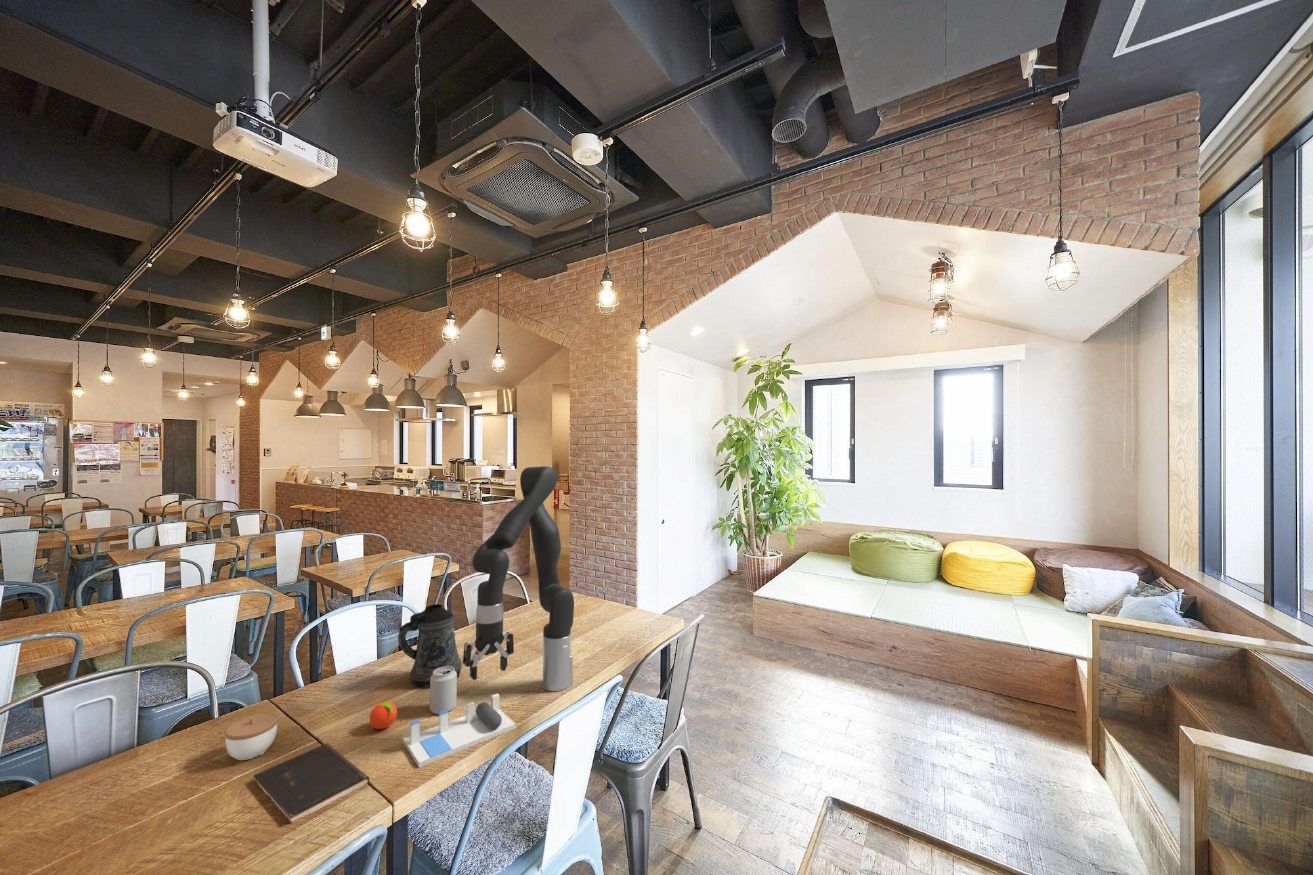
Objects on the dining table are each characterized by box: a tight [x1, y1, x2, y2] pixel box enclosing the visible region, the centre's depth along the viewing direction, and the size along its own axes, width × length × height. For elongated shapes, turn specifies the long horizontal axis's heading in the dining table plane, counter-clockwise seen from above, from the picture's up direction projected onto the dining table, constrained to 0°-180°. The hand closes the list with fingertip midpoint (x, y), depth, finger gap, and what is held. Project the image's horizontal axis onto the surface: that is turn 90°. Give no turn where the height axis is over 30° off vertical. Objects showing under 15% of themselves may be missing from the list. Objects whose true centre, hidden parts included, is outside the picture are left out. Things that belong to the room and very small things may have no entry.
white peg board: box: [402, 693, 517, 768], centre depth 135 cm, size 26×14×7 cm, turn 132°
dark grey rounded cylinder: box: [475, 701, 502, 729], centre depth 139 cm, size 12×4×4 cm, turn 42°
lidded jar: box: [224, 712, 279, 760], centre depth 127 cm, size 11×11×9 cm
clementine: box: [369, 700, 398, 730], centre depth 139 cm, size 8×7×7 cm
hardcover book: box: [253, 743, 370, 823], centre depth 116 cm, size 16×23×2 cm
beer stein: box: [397, 603, 463, 689], centre depth 169 cm, size 16×19×25 cm
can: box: [429, 666, 458, 715], centre depth 149 cm, size 8×8×12 cm
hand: (488, 674), depth 140 cm, fingers open, 8 cm apart
